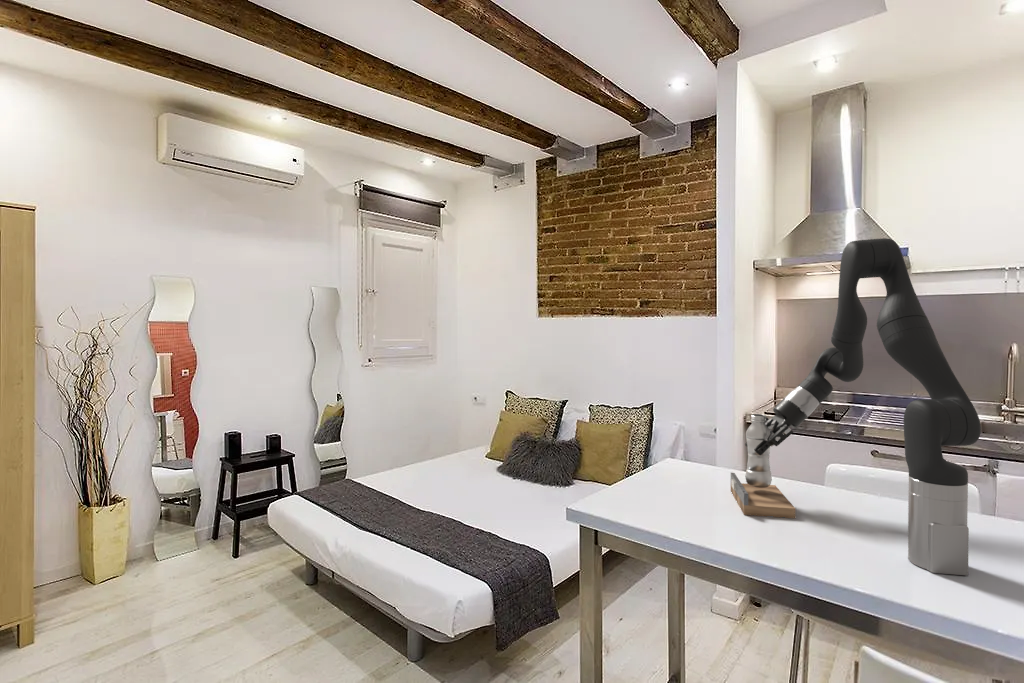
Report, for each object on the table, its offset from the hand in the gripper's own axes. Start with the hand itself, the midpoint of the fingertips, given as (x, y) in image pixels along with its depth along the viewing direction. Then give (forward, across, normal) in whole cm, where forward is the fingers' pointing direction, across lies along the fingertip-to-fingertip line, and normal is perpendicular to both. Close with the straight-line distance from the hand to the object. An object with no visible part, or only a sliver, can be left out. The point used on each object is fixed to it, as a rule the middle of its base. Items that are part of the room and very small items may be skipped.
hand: (752, 449), depth 145 cm
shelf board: (+9, +3, +11) cm, 14 cm away
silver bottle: (+6, 0, +9) cm, 11 cm away
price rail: (+12, +2, +5) cm, 13 cm away
